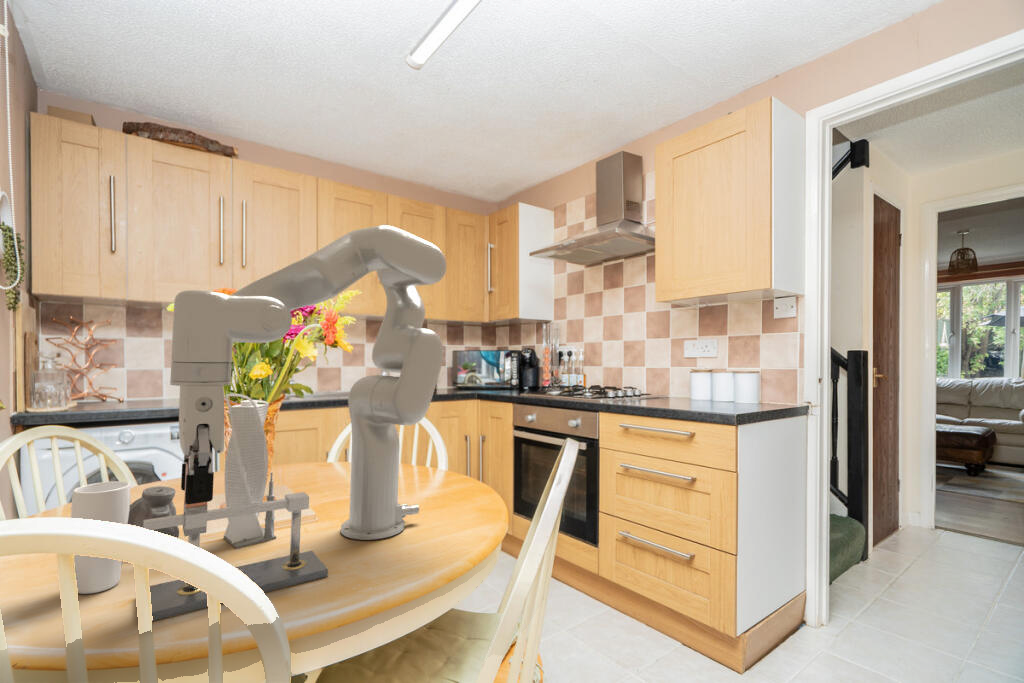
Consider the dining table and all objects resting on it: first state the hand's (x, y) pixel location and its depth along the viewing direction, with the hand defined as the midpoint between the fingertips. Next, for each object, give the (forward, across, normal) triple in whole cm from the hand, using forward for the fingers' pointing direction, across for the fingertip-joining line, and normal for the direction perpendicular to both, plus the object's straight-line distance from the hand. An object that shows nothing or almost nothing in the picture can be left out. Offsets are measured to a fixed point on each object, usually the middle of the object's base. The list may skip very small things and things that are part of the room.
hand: (196, 494), depth 70 cm
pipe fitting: (+15, +26, +4) cm, 31 cm away
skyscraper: (+15, +20, -10) cm, 27 cm away
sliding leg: (+13, 0, 0) cm, 13 cm away
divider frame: (+14, 0, -5) cm, 14 cm away
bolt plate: (+15, 0, -6) cm, 16 cm away
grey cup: (+15, +12, +11) cm, 22 cm away
